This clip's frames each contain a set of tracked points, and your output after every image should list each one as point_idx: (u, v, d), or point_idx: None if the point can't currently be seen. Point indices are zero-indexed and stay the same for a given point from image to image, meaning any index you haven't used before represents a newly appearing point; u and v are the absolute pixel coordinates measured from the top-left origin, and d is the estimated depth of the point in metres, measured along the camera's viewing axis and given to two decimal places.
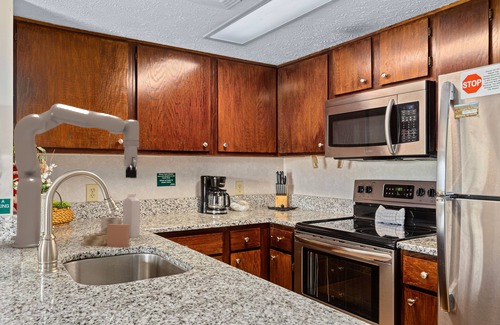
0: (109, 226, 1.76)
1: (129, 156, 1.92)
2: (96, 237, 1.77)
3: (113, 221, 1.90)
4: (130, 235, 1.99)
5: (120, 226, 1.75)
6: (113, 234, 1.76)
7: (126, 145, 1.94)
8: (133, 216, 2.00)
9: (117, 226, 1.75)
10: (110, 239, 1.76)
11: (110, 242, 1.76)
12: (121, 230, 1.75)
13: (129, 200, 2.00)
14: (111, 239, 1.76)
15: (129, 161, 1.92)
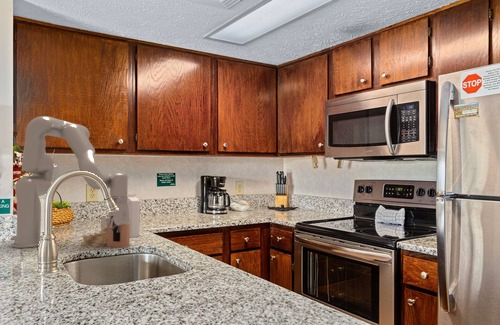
0: (109, 226, 1.76)
1: None
2: (96, 237, 1.77)
3: None
4: (130, 235, 1.99)
5: (120, 226, 1.75)
6: None
7: None
8: (133, 216, 2.00)
9: None
10: (110, 239, 1.76)
11: (110, 242, 1.76)
12: (121, 229, 1.75)
13: (129, 200, 2.00)
14: (111, 238, 1.76)
15: None
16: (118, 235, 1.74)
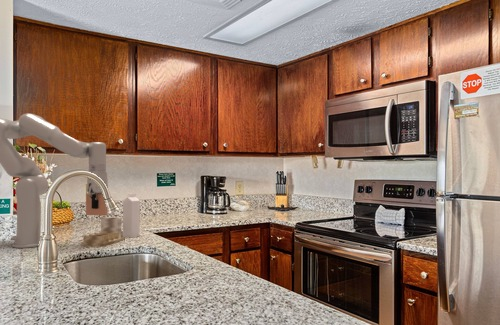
0: None
1: None
2: (96, 237, 1.77)
3: (113, 221, 1.90)
4: (130, 235, 1.99)
5: (99, 195, 1.79)
6: (91, 203, 1.80)
7: (105, 170, 1.82)
8: (133, 216, 2.00)
9: None
10: (89, 208, 1.80)
11: (89, 211, 1.80)
12: (99, 198, 1.79)
13: (129, 200, 2.00)
14: (90, 207, 1.80)
15: None
16: (96, 202, 1.78)
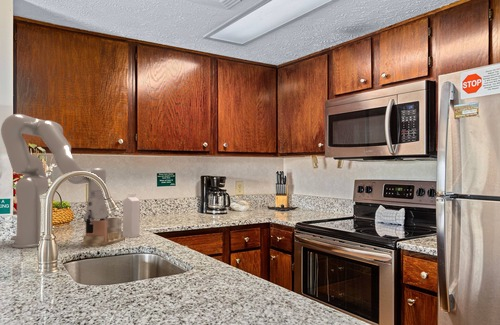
0: None
1: None
2: (96, 237, 1.77)
3: (113, 221, 1.90)
4: (130, 235, 1.99)
5: (98, 222, 1.79)
6: None
7: None
8: (133, 216, 2.00)
9: (95, 222, 1.79)
10: (88, 235, 1.80)
11: None
12: (99, 225, 1.79)
13: (129, 200, 2.00)
14: (89, 234, 1.80)
15: None
16: (91, 227, 1.75)
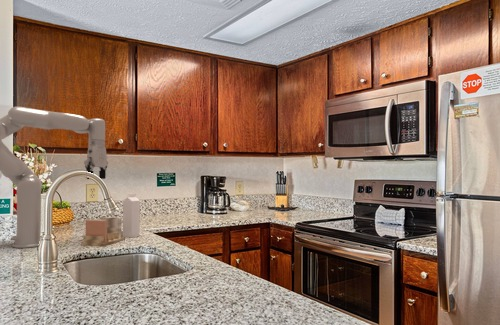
0: (87, 222, 1.80)
1: None
2: (96, 237, 1.77)
3: (113, 221, 1.90)
4: (130, 235, 1.99)
5: (98, 222, 1.79)
6: (91, 230, 1.80)
7: (104, 145, 1.92)
8: (133, 216, 2.00)
9: (95, 222, 1.79)
10: (88, 235, 1.80)
11: None
12: (99, 225, 1.79)
13: (129, 200, 2.00)
14: (89, 234, 1.80)
15: None
16: None
